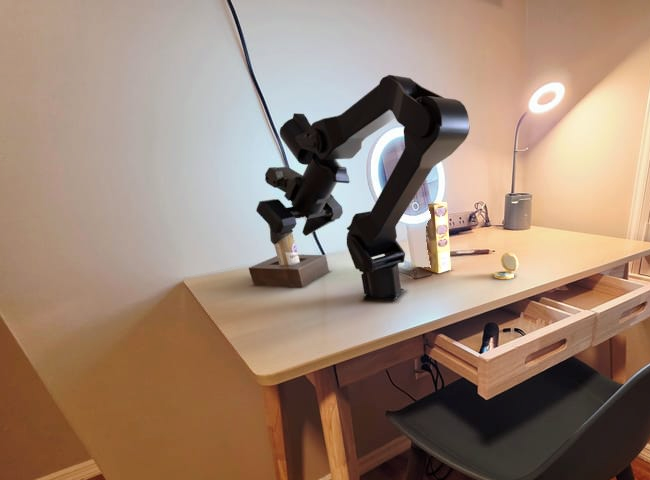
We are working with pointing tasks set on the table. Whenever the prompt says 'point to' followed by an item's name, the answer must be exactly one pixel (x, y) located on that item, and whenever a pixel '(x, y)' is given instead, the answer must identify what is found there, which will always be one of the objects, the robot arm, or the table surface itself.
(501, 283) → the table surface
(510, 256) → the eyeshadow
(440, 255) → the candy box
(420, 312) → the table surface
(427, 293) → the table surface
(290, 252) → the sprinkles bottle
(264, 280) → the holder
